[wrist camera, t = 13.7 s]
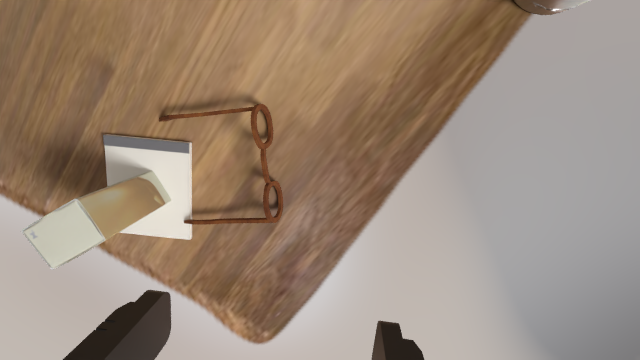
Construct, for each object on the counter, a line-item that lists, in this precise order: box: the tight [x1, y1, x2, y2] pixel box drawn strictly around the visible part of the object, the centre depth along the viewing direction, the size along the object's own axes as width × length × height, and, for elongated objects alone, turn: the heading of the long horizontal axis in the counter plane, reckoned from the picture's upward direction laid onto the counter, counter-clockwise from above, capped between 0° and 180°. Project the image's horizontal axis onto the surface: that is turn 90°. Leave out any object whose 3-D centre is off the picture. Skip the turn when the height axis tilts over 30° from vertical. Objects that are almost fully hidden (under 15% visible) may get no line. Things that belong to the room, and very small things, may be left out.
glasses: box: [159, 104, 283, 224], centre depth 37 cm, size 13×13×5 cm
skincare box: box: [22, 171, 171, 269], centre depth 34 cm, size 6×4×12 cm
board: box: [103, 134, 192, 240], centre depth 40 cm, size 12×10×1 cm
